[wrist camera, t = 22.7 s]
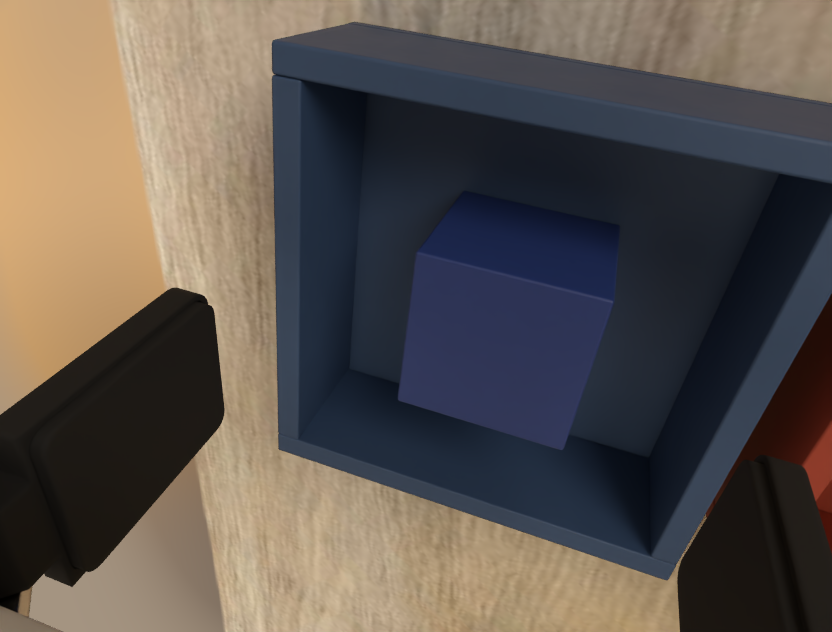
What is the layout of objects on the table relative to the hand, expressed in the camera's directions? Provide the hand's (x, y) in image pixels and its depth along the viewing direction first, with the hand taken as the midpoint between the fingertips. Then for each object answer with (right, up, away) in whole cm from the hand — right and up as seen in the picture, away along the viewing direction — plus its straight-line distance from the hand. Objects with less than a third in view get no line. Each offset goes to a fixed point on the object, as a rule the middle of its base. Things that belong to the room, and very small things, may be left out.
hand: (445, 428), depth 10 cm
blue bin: (+3, +4, +10) cm, 11 cm away
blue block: (+3, +3, +10) cm, 11 cm away
